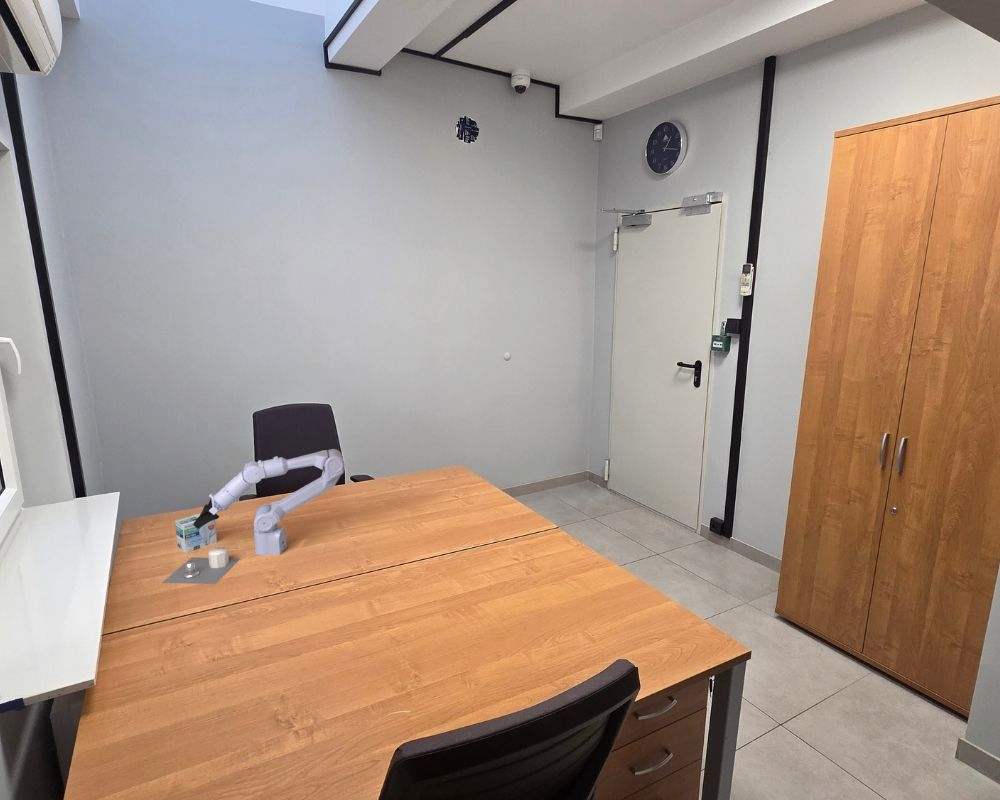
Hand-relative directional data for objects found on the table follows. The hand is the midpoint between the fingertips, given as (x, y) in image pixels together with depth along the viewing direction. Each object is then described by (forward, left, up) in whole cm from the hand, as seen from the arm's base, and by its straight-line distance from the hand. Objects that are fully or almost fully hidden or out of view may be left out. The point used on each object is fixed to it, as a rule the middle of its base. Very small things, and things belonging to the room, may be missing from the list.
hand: (198, 522), depth 176 cm
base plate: (-4, +7, -14) cm, 16 cm away
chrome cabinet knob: (-2, +10, -13) cm, 16 cm away
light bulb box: (+7, -10, -14) cm, 18 cm away
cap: (-7, +3, -13) cm, 15 cm away
